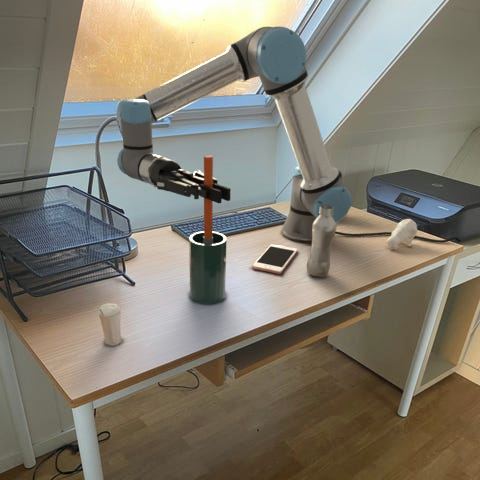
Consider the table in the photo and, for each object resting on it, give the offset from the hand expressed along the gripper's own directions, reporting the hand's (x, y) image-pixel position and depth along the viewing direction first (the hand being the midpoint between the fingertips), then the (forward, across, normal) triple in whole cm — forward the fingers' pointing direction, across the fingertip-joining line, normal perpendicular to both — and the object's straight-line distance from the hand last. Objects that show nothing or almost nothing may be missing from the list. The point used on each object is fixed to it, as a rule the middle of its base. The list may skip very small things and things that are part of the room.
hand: (224, 196), depth 106 cm
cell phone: (-9, -30, -28) cm, 42 cm away
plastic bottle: (+5, -32, -28) cm, 43 cm away
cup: (-6, 0, -28) cm, 28 cm away
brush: (-6, 0, -20) cm, 21 cm away
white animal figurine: (+9, -70, -28) cm, 76 cm away
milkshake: (-3, +30, -28) cm, 41 cm away
